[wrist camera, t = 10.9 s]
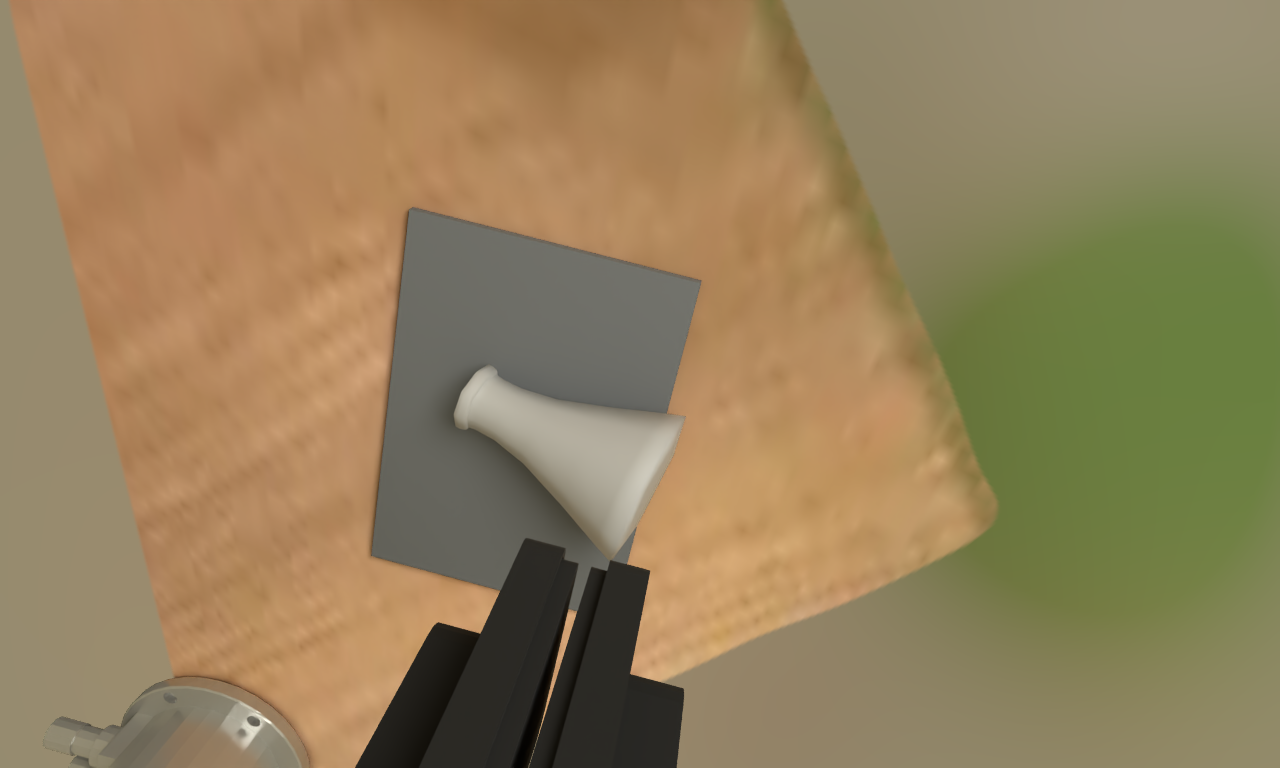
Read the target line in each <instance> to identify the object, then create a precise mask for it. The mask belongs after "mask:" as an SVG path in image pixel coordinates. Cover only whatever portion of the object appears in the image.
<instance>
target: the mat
mask: <svg viewBox="0 0 1280 768" xmlns="http://www.w3.org/2000/svg"><path fill="white" fill-rule="evenodd" d="M700 285H701V280H697V279H693V278H689V277H686V276H682V275H678V274H674V273H670V272H666V271H662V270H658V269H654V268H650V267H646V266H642V265H638V264H634V263H631V262H627V261H623V260H619V259H615V258H611V257H607V256H603V255H599V254H595V253H591V252H587V251H583V250H579V249H575V248H572V247H568V246H564V245H560V244H556V243H552V242H548V241H544V240H540V239H536V238H532V237H528V236H524V235H520V234H517V233H513V232H509V231H505V230H501V229H497V228H493V227H489V226H485V225H481V224H477V223H473V222H469V221H465V220H461V219H458V218H454V217H450V216H446V215H442V214H438V213H434V212H430V211H426V210H422V209H418V208H414V207H413V208H411V209H409V217H408V226H407V235H406V244H405V253H404V262H403V271H402V280H401V290H400V299H399V308H398V317H397V326H396V335H395V344H394V354H393V363H392V372H391V381H390V390H389V399H388V408H387V417H386V427H385V436H384V445H383V454H382V463H381V472H380V481H379V491H378V500H377V509H376V518H375V527H374V536H373V545H372V554H371V556H374V557H377V558H381V559H385V560H388V561H392V562H396V563H400V564H403V565H407V566H411V567H415V568H418V569H422V570H426V571H430V572H433V573H437V574H441V575H444V576H448V577H452V578H456V579H459V580H463V581H467V582H471V583H474V584H478V585H482V586H485V587H489V588H493V589H497V590H500V591H501V589H502V586H503V584H504V582H505V580H506V578H507V576H508V573H509V571H510V569H511V567H512V565H513V563H514V560H515V558H516V556H517V554H518V552H519V550H520V547H521V545H522V543H523V541H524V539H525V538H529V539H533V540H537V541H541V542H545V543H548V544H552V545H556V546H560V547H563V548H566V553H565V558H564V560H568V561H572V562H576V563H579V565H578V570H577V574H576V579H575V583H574V587H573V592H572V596H571V600H570V604H569V609H571V610H575V611H578V608H579V605H580V601H581V598H582V595H583V592H584V589H585V585H586V582H587V579H588V576H589V572H590V569H591V567H594V568H598V569H602V570H606V571H607V570H608V566H609V562H610V561H609V560H608V559H607V558H606V557H605V556H604V555H603V553H602V552H601V551H600V550H599V549H598V548H597V547H596V546H595V545H594V543H593V542H592V541H591V540H590V539H589V537H588V536H587V535H586V534H585V533H584V532H583V530H582V529H581V528H580V527H579V526H578V524H577V523H576V522H575V521H574V520H573V519H572V517H571V516H570V515H569V514H568V513H567V511H566V510H565V509H564V508H563V507H562V506H561V504H560V503H559V502H558V501H557V500H556V499H555V498H554V497H553V496H552V495H551V493H550V492H549V491H548V490H547V489H546V488H545V487H544V486H543V485H542V484H541V483H540V481H539V480H538V479H537V478H536V477H535V476H534V475H533V474H532V473H531V472H530V470H529V469H528V468H527V467H526V466H525V465H524V464H523V463H522V462H521V461H519V460H518V459H517V458H516V457H514V456H513V455H512V454H511V453H509V452H508V451H507V450H506V449H505V448H503V447H502V446H501V445H500V444H498V443H497V442H496V441H495V440H493V439H491V438H489V437H488V436H486V435H484V434H482V433H480V432H479V431H477V430H475V429H472V428H468V429H467V430H463V429H459V428H458V427H456V426H455V420H454V412H455V409H456V406H457V403H458V400H459V397H460V394H461V391H462V390H463V389H464V387H465V386H466V385H467V383H468V382H469V381H470V379H471V378H472V377H473V375H474V374H475V373H476V372H477V371H478V370H480V369H482V368H483V367H485V366H487V365H488V364H489V365H491V366H493V367H494V368H495V369H496V370H497V374H498V376H499V377H501V378H502V379H504V380H506V381H508V382H510V383H512V384H514V385H516V386H518V387H520V388H522V389H525V390H528V391H531V392H535V393H538V394H541V395H544V396H548V397H551V398H554V399H558V400H564V401H571V402H578V403H585V404H592V405H598V406H605V407H612V408H621V409H630V410H639V411H648V412H657V413H666V414H667V410H668V406H669V402H670V399H671V395H672V391H673V387H674V384H675V380H676V376H677V372H678V368H679V365H680V361H681V357H682V353H683V349H684V346H685V342H686V338H687V334H688V330H689V327H690V323H691V319H692V315H693V311H694V308H695V304H696V300H697V296H698V292H699V289H700ZM636 528H637V527H636ZM636 528H635V529H634V531H633V532H632V533H631V535H630V536H629V538H628V539H627V540H626V542H625V543H624V544H623V546H622V547H621V548H620V550H619V551H618V553H617V554H616V555H615V557H614V558H613V559H612V561H616V562H620V563H624V564H627V562H628V558H629V554H630V550H631V547H632V543H633V539H634V535H635V532H636Z"/></svg>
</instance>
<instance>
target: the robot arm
mask: <svg viewBox="0 0 1280 768" xmlns="http://www.w3.org/2000/svg"><path fill="white" fill-rule="evenodd" d="M565 553H566V548H563V547H560V546H556V545H552V544H548V543H545V542H541V541H537V540H533V539H529V538H525V539H524V541H523V543H522V545H521V547H520V550H519V552H518V554H517V556H516V558H515V560H514V563H513V565H512V567H511V569H510V571H509V573H508V576H507V578H506V580H505V582H504V584H503V586H502V589H501V591H500V593H499V595H498V597H497V599H496V602H495V604H494V606H493V608H492V610H491V612H490V615H489V617H488V619H487V621H486V623H485V625H484V628H483V630H482V632H481V634H479V633H476V632H472V631H468V630H465V629H461V628H457V627H454V626H450V625H446V624H442V623H439V622H438V623H437V624H435V625H434V626H433V628H432V629H431V631H430V633H429V634H428V636H427V638H426V640H425V641H424V643H423V645H422V647H421V649H420V650H419V652H418V654H417V656H416V658H415V660H414V661H413V663H412V665H411V667H410V669H409V670H408V672H407V674H406V676H405V678H404V680H403V681H402V683H401V685H400V687H399V689H398V691H397V692H396V694H395V696H394V698H393V700H392V701H391V703H390V705H389V707H388V709H387V711H386V712H385V714H384V716H383V718H382V720H381V721H380V723H379V725H378V727H377V729H376V731H375V732H374V734H373V736H372V738H371V740H370V742H369V743H368V745H367V747H366V749H365V751H364V752H363V754H362V756H361V758H360V760H359V762H358V763H357V765H356V767H355V768H528V766H529V763H530V766H529V768H676V767H677V758H678V749H679V739H680V730H681V721H682V711H683V702H684V689H683V688H679V687H676V686H672V685H668V684H665V683H661V682H657V681H654V680H650V679H646V678H643V677H639V676H635V675H631V674H630V671H631V666H632V661H633V656H634V651H635V646H636V641H637V636H638V631H639V626H640V621H641V615H642V610H643V605H644V600H645V595H646V590H647V585H648V580H649V575H650V570H646V569H642V568H639V567H635V566H631V565H627V564H624V563H620V562H616V561H612V560H610V562H609V566H608V570H607V571H606V570H602V569H598V568H594V567H591V569H590V572H589V576H588V579H587V582H586V585H585V589H584V592H583V595H582V598H581V601H580V605H579V608H578V611H577V614H576V618H575V621H574V624H573V627H572V630H571V634H570V637H569V640H568V643H567V647H566V650H565V653H564V656H563V659H562V663H561V666H560V669H559V672H558V676H557V679H556V682H555V685H554V688H553V692H552V695H551V698H550V701H549V705H548V708H547V711H546V714H545V717H544V721H543V724H542V727H541V730H540V726H541V723H542V719H543V715H544V711H545V707H546V702H547V698H548V694H549V690H550V685H551V681H552V677H553V672H554V668H555V664H556V660H557V655H558V651H559V647H560V643H561V638H562V634H563V630H564V626H565V621H566V617H567V613H568V609H569V604H570V600H571V596H572V592H573V587H574V583H575V579H576V574H577V570H578V565H579V563H576V562H572V561H568V560H564V558H565ZM539 730H540V734H539ZM538 734H539V737H538ZM537 737H538V740H537ZM536 741H537V743H536ZM535 744H536V747H535ZM43 746H44V747H45V748H47V749H50V750H54V751H57V752H61V753H64V754H68V755H72V756H73V755H77V756H76V757H75V758H74V759H73V760H72V762H71V763H70V765H69V768H310V763H309V759H308V756H307V753H306V750H305V747H304V745H303V743H302V742H301V740H300V738H299V736H298V735H297V733H296V731H295V730H294V729H293V728H292V727H291V725H290V724H289V723H288V722H287V720H286V719H285V718H284V717H283V716H282V715H280V714H279V713H278V712H277V711H276V710H275V709H274V708H273V707H272V706H270V705H269V704H267V703H266V702H264V701H263V700H261V699H260V698H258V697H257V696H255V695H253V694H251V693H249V692H247V691H245V690H243V689H242V688H240V687H237V686H234V685H231V684H228V683H225V682H222V681H218V680H213V679H208V678H201V677H180V678H173V679H168V680H165V681H162V682H159V683H156V684H154V685H153V686H151V687H150V688H148V689H147V690H145V691H144V692H143V693H142V694H141V695H140V696H139V697H138V698H137V699H136V700H135V701H134V702H133V703H132V704H131V706H130V707H129V708H128V710H127V712H126V713H125V715H124V717H123V721H122V724H121V727H119V726H116V725H110V726H108V727H106V728H105V729H100V728H96V727H93V726H91V725H90V724H88V723H84V722H80V721H77V720H73V719H70V718H66V717H60V718H58V719H56V720H55V721H54V722H53V723H52V724H51V725H50V727H49V728H48V730H47V731H46V734H45V736H44V739H43ZM534 747H535V750H534ZM533 750H534V753H533ZM532 753H533V756H532ZM531 757H532V759H531ZM530 760H531V762H530Z"/></svg>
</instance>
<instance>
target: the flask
mask: <svg viewBox="0 0 1280 768" xmlns="http://www.w3.org/2000/svg"><path fill="white" fill-rule="evenodd" d="M685 417H686V416H680V415H673V414H666V413H657V412H648V411H639V410H630V409H621V408H612V407H605V406H598V405H592V404H585V403H578V402H571V401H564V400H558V399H554V398H551V397H548V396H544V395H541V394H538V393H535V392H531V391H528V390H525V389H522V388H520V387H518V386H516V385H514V384H512V383H510V382H508V381H506V380H504V379H502V378H501V377H499V376H498V374H497V370H496V369H495V368H494V367H493V366H491V365H489V364H488V365H487V366H485V367H483V368H482V369H480V370H478V371H477V372H476V373H475V374H474V375H473V377H472V378H471V379H470V381H469V382H468V383H467V385H466V386H465V387H464V389H463V390H462V391H461V394H460V397H459V400H458V403H457V406H456V409H455V412H454V420H455V426H456V427H458V428H459V429H463V430H467V429H468V428H472V429H475V430H477V431H479V432H480V433H482V434H484V435H486V436H488V437H489V438H491V439H493V440H495V441H496V442H497V443H498V444H500V445H501V446H502V447H503V448H505V449H506V450H507V451H508V452H509V453H511V454H512V455H513V456H514V457H516V458H517V459H518V460H519V461H521V462H522V463H523V464H524V465H525V466H526V467H527V468H528V469H529V470H530V472H531V473H532V474H533V475H534V476H535V477H536V478H537V479H538V480H539V481H540V483H541V484H542V485H543V486H544V487H545V488H546V489H547V490H548V491H549V492H550V493H551V495H552V496H553V497H554V498H555V499H556V500H557V501H558V502H559V503H560V504H561V506H562V507H563V508H564V509H565V510H566V511H567V513H568V514H569V515H570V516H571V517H572V519H573V520H574V521H575V522H576V523H577V524H578V526H579V527H580V528H581V529H582V530H583V532H584V533H585V534H586V535H587V536H588V537H589V539H590V540H591V541H592V542H593V543H594V545H595V546H596V547H597V548H598V549H599V550H600V551H601V552H602V553H603V555H604V556H605V557H606V558H607V559H608V560H609V561H610V560H612V559H613V558H614V557H615V555H616V554H617V553H618V551H619V550H620V548H621V547H622V546H623V544H624V543H625V542H626V540H627V539H628V538H629V536H630V535H631V533H632V532H633V531H634V529H635V528H636V527H637V525H638V523H639V521H640V519H641V517H642V515H643V514H644V512H645V510H646V508H647V506H648V504H649V502H650V500H651V498H652V496H653V494H654V492H655V490H656V488H657V486H658V485H659V483H660V481H661V479H662V477H663V475H664V473H665V471H666V469H667V467H668V465H669V463H670V461H671V459H672V457H673V455H674V452H675V449H676V446H677V442H678V439H679V436H680V433H681V430H682V427H683V424H684V421H685Z"/></svg>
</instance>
